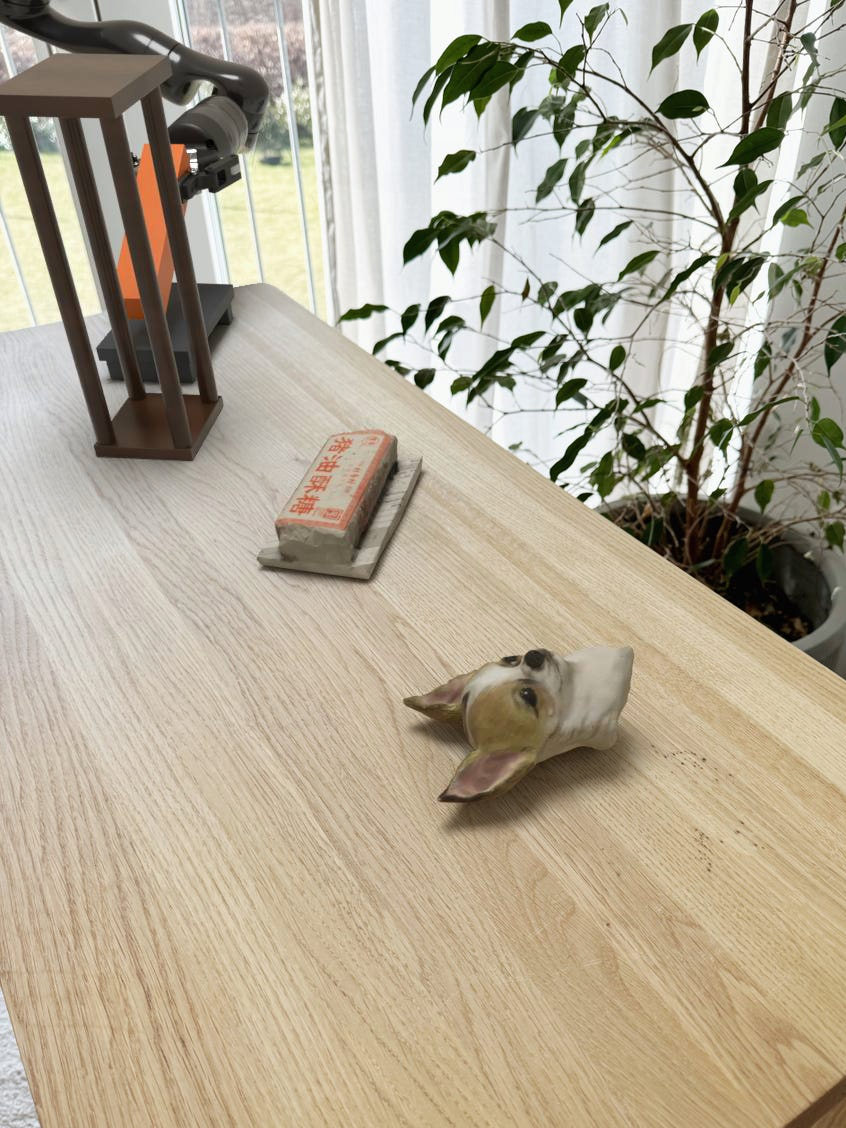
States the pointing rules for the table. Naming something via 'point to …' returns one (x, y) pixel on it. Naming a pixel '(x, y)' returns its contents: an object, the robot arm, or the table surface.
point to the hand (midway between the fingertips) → (155, 193)
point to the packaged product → (344, 506)
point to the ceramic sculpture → (529, 713)
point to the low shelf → (172, 333)
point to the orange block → (151, 233)
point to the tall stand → (105, 93)
